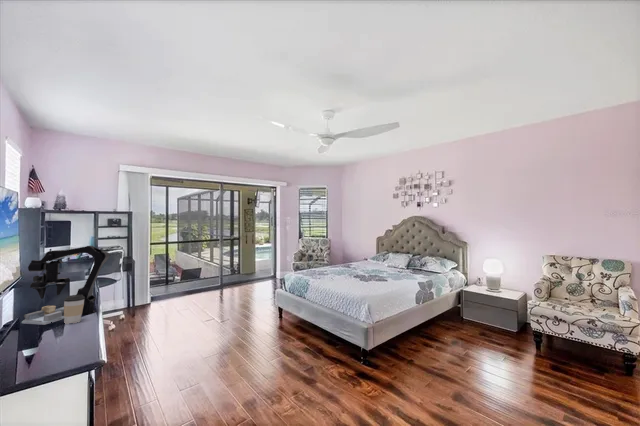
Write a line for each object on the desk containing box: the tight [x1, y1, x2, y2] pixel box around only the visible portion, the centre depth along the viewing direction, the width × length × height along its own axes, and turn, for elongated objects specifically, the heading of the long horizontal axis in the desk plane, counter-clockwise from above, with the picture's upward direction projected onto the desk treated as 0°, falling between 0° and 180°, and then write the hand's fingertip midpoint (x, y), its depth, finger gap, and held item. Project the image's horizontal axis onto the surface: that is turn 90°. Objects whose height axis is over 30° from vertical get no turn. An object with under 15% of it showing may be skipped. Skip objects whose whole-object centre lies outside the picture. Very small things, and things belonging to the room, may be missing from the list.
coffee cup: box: [63, 294, 85, 325], centre depth 157 cm, size 9×9×15 cm
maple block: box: [40, 305, 57, 315], centre depth 167 cm, size 5×4×6 cm
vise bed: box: [21, 310, 64, 326], centre depth 157 cm, size 14×11×4 cm
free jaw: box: [23, 310, 45, 320], centre depth 158 cm, size 4×8×3 cm, turn 177°
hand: (50, 296), depth 168 cm, fingers open, 9 cm apart
